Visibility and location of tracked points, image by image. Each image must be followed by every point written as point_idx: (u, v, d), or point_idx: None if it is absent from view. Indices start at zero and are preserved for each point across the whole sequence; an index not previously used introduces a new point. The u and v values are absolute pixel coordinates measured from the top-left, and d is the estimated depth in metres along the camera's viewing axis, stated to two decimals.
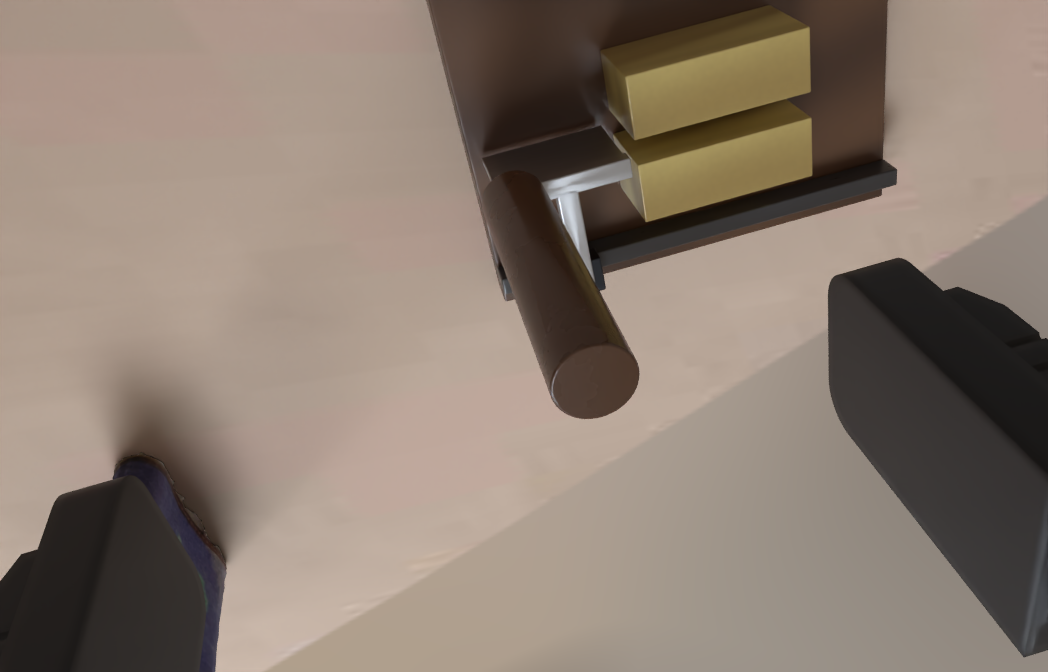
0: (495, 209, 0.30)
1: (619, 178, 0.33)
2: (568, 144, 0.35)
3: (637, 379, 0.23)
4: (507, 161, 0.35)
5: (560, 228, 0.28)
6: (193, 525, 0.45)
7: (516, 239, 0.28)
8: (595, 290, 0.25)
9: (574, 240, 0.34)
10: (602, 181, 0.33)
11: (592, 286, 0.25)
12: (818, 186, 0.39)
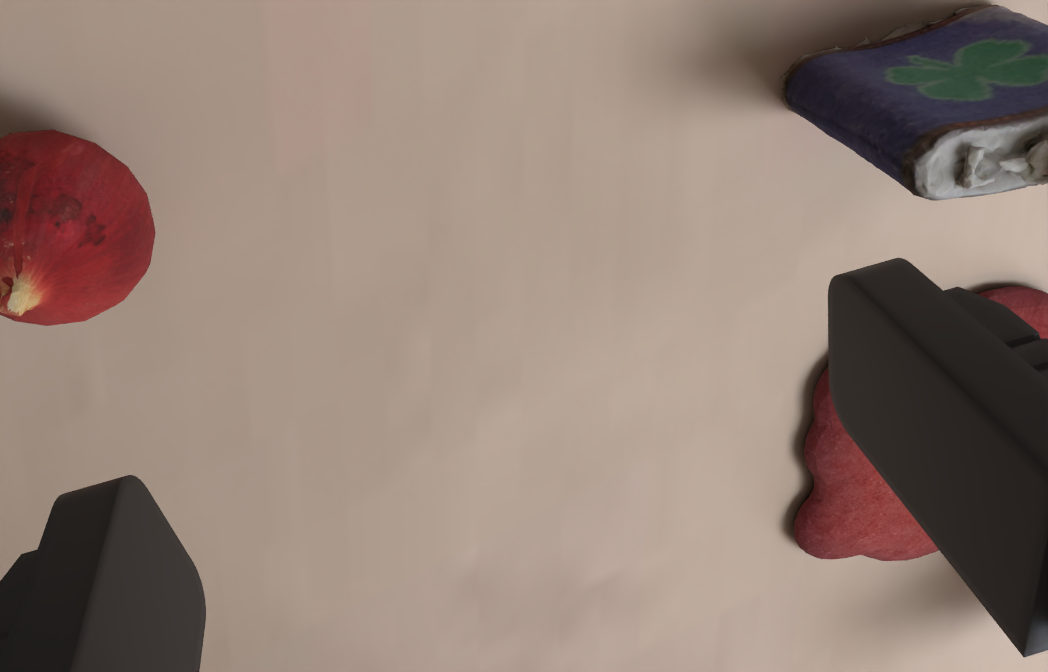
0: None
1: None
2: None
3: None
4: None
5: None
6: (910, 35, 0.34)
7: None
8: None
9: None
10: None
11: None
12: None
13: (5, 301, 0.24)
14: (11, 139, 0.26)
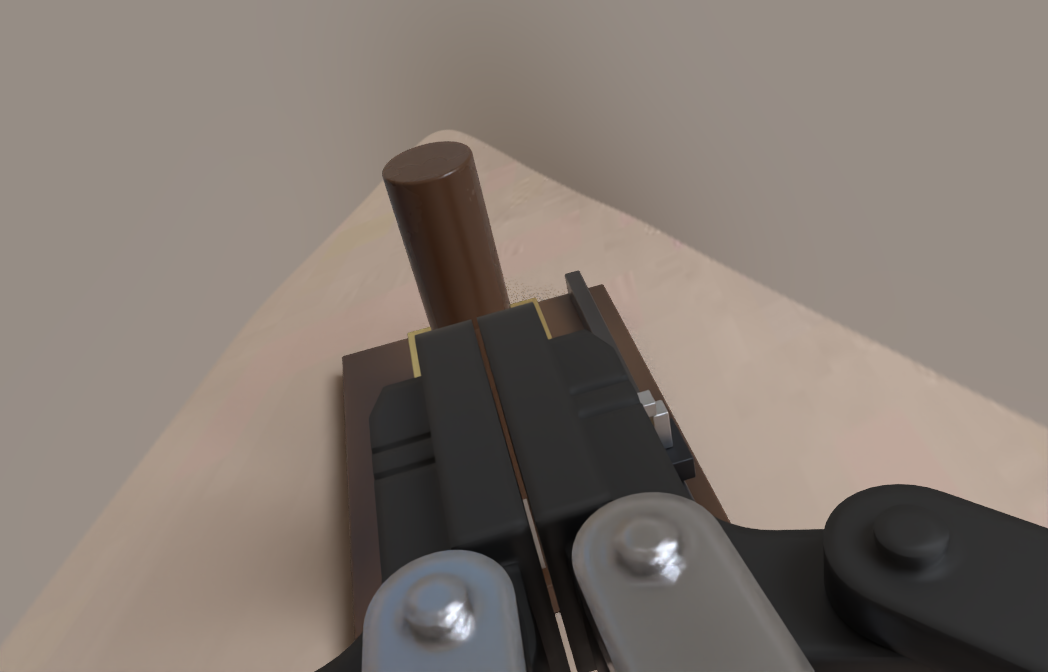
0: None
1: None
2: None
3: (432, 143, 0.24)
4: None
5: None
6: None
7: None
8: None
9: None
10: None
11: None
12: (581, 315, 0.43)
13: None
14: None
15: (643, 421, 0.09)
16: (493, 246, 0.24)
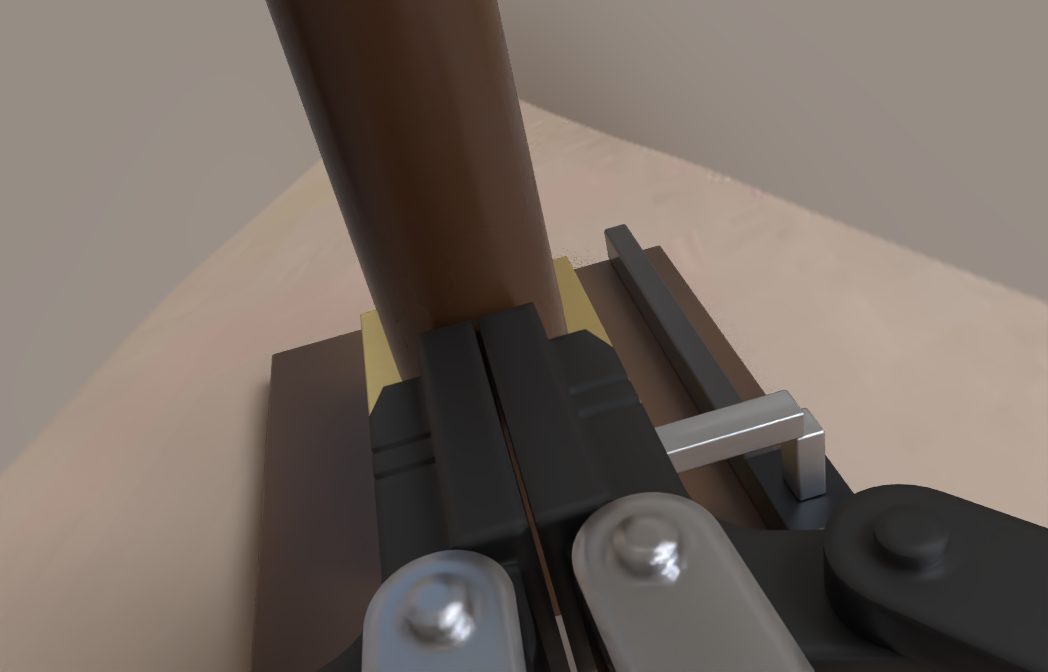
0: None
1: None
2: None
3: None
4: None
5: None
6: None
7: (408, 373, 0.12)
8: None
9: None
10: None
11: None
12: (634, 287, 0.28)
13: None
14: None
15: (643, 421, 0.09)
16: (499, 26, 0.10)
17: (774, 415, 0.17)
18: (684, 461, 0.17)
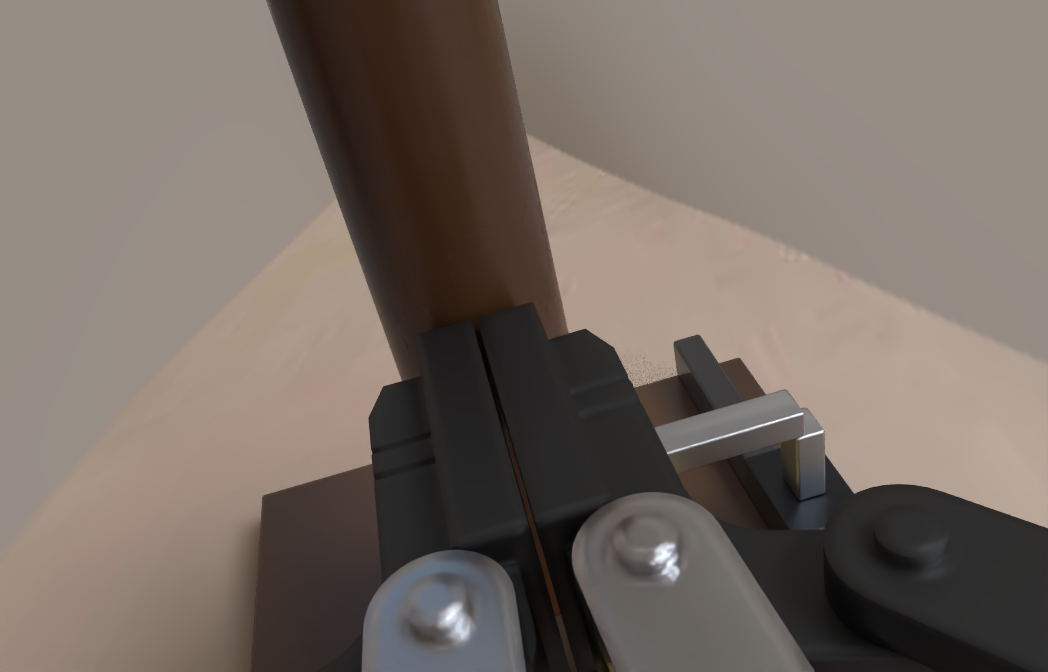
0: None
1: None
2: None
3: None
4: None
5: None
6: None
7: (408, 373, 0.12)
8: None
9: None
10: None
11: None
12: None
13: None
14: None
15: (643, 421, 0.09)
16: (499, 26, 0.10)
17: (774, 415, 0.17)
18: (684, 461, 0.17)
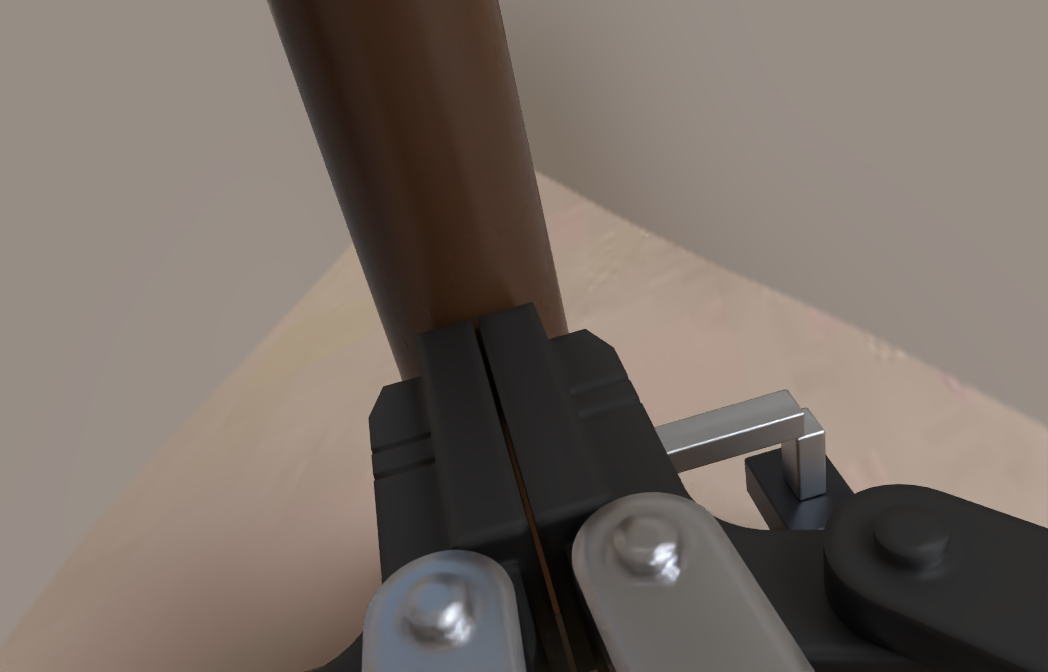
0: None
1: None
2: None
3: None
4: None
5: None
6: None
7: (408, 372, 0.12)
8: None
9: None
10: None
11: None
12: None
13: None
14: None
15: (643, 421, 0.09)
16: (500, 26, 0.10)
17: (775, 415, 0.17)
18: (684, 461, 0.17)
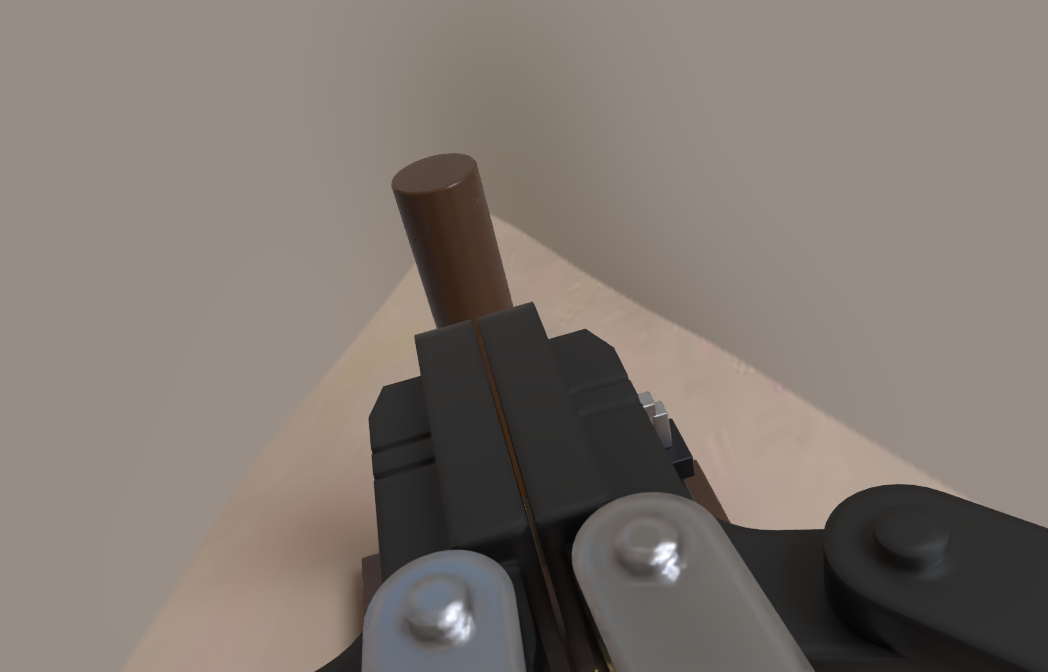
0: None
1: None
2: None
3: (439, 155, 0.25)
4: None
5: None
6: None
7: None
8: None
9: None
10: None
11: None
12: None
13: None
14: None
15: (643, 421, 0.09)
16: (497, 253, 0.26)
17: None
18: None
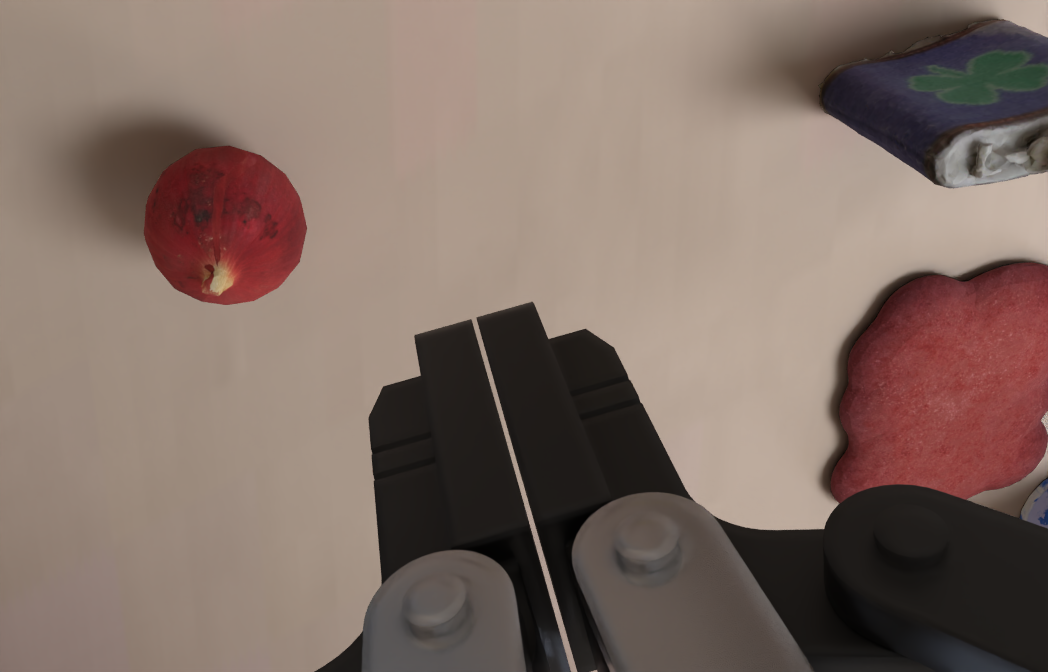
0: None
1: None
2: None
3: None
4: None
5: None
6: (929, 46, 0.39)
7: None
8: None
9: None
10: None
11: None
12: None
13: (208, 284, 0.31)
14: (200, 154, 0.32)
15: (643, 421, 0.09)
16: None
17: None
18: None
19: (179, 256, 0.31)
